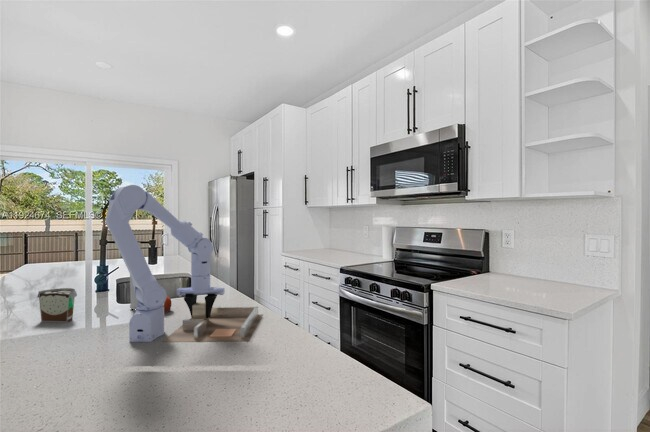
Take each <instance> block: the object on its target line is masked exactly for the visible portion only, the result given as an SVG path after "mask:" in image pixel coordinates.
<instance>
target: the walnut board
mask: <svg viewBox="0 0 650 432" xmlns="http://www.w3.org/2000/svg"><path fill="white" fill-rule="evenodd" d="M263 316H264V314H258V317H257V318H256V320H255V322H254V323H253V325H252V327H251V328H250V330H249V332H248V333H247V335H246V337H245V338H244V339H241V327H242V325H243V324H244V322H245V321H246V320H247V318H248V317H249V316H235V317H209V321H208V322H207V330H206V331H205V332H204V333H203V334H202V335H201V336H200V337H199V338H198V339H194V330H183V324H181V326H180V327H178V328H177V329H175V330H174V331H173V332H171V334H170V335H168V336H167V337H165V339H163V340H162V341H161V343H206V342H207V343H208V342H209V343H210V342H211V343H214V342H215V343H218V342H220V343H221V342H226V343H228V342H230V343H232V342H238V343H239V342H249V341H250V338H252V335H253V333H254V332H255V330H256V328H257V326H258V324H260V321H261V319H262V317H263ZM189 319H192V318H191V317H190V318H189ZM216 329H236V331H235V332H234V334H233V335H232V337H210V335H211V334H212V333H213V332H214V331H215V330H216Z"/></svg>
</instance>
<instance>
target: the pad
mask: <svg viewBox="0 0 650 432" xmlns="http://www.w3.org/2000/svg"><path fill="white" fill-rule="evenodd" d="M235 331H236V329H216V330H215V331H214V332H213V333H212V334H211V335H210V337H232V335H233V334H234V332H235Z"/></svg>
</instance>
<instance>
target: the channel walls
mask: <svg viewBox="0 0 650 432" xmlns="http://www.w3.org/2000/svg"><path fill="white" fill-rule="evenodd" d="M258 315H259V306H212V310H211V315H210V317H235V316H249V317H248V318H247V320H246V321H245V322H244V324H243V325H242V327H241V339H244V338H245V337H246V335H247V333H248V332H249V330H250V328H251V327H252V325H253V323H254V322H255V320H256V318H257V317H258ZM182 325H183V330H194V339H198V338H199V337H200V336H201V335H202V334H203V333H204V332H205V331H206V330H207V319H190V318H186V319H185V318H184V319H182Z"/></svg>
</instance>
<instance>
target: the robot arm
mask: <svg viewBox="0 0 650 432" xmlns="http://www.w3.org/2000/svg"><path fill="white" fill-rule="evenodd" d="M137 210H138V211H143V212H147V213H149V214H151V215H152V216H154V218H156V219H157V220H159V221H160V222H161V223H163V224H164V225H165V226H167V227H168V228H169V229H170V234H171V236H172V237H173V238H175V239H176V240H177V241H179V242H180V243H181V244H182V245H184V247H186V248H187V250H188V252H189V253H191V257H190V258H191V260H190V261H191V262H190V264H191V265H190V274H191V275H190V276H191V277H190V279H191V283H190V284H191V286H190V287H179V288H176V296H184V297H183V300H184V302H185V303H186V305H187V308H188V309H189V313H190V318H192V305H194V304H195V303H197V300H198V299H197V298H198V296H199V295H200V296H201V295H202V296H203V295H205V296H204V302H205V303H206V318H209V317H210V315H211V310H212V307H214V303H215V301H216V299H217V297H218V295H219V296H224V294H225V287H218V286H216V287H215V286H211V254H212V253H213V252H214V248H215V246H214V245H213V244H212V241H211V240H210V239H209V238H207V237H203V236H204V233H202V232H199V231H197V229H195V228H194V227H193V223H191V222H190V221H186V220H179V219H178V218H176V217H175V216H174V215H173V214H172V212H170V210H168V209H166V207H165V206H164V205H162V204H161V203H160V202H159V201H158V200H157V198H155V197H154V196H153V195H152V194H150V193H149V192H147V191H145V190H144V189H143V188H142V187H141V186H140V185H137V184H129V185H126V186H121V187H118V188H116V189H115V190H114V192H113V193H112V195H111V196H110V197H109V199H108V207H107V211H106V214H105V215H106V216H105V224H106V225H107V228H108V231H109V232H110V235H111V236H112V239H113V241H114V243H115V245H116V247H117V250H118V251H119V254H120V255H121V258H122V261H123V262H124V264H125V267H126V269H127V270H128V273H129V276H130V275H131V277H132V280H133V285H134V288H135V291H134V296H135V298H136V300H137V301H138V304H137V306H136V310H135V313H134V314H133V315H132V316H131V318H130V319H129V322H128V323H129V325H128V326H129V327H128V328H129V333H128V334H129V337H128V338H129V342H133V343H135V342H136V343H138V342H139V343H140V342H141V343H143V342H144V343H145V342H147V343H149V342H152V341H154V340H155V339H157V338H158V337H161V336H163V335H164V334H165V314H164V302H165V301H166V298H167V296H168V295H167V294H168V293H167V290H166V289H165V288H164V287H163V286H161V285H160V284H159V283H158V280H157V279H156V277H155V276H154V274H153V273H152V271H151V269H150V267H149V265H148V263H147V260H146V258H145V256H144V254H143V252H142V249H141V247H139V245H138V240H137V239H136V237H135V234H134V232H133V230H132V227H131V225H130V223H129V222H130V221H131V219H132V217H133V215H134V213H135V212H136V211H137Z"/></svg>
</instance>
